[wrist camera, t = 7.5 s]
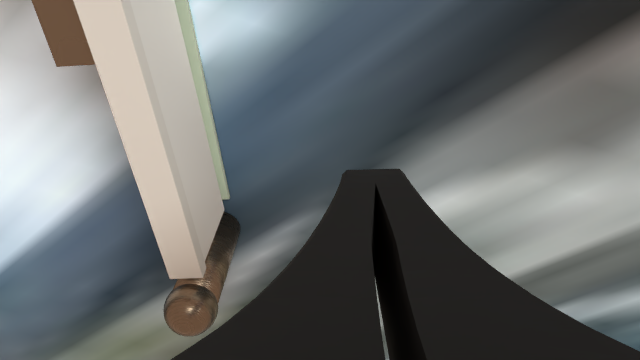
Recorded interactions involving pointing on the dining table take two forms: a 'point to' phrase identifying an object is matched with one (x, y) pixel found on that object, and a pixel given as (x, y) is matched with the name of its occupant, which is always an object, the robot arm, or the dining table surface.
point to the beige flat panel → (158, 123)
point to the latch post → (63, 32)
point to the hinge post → (203, 285)
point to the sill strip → (201, 92)
